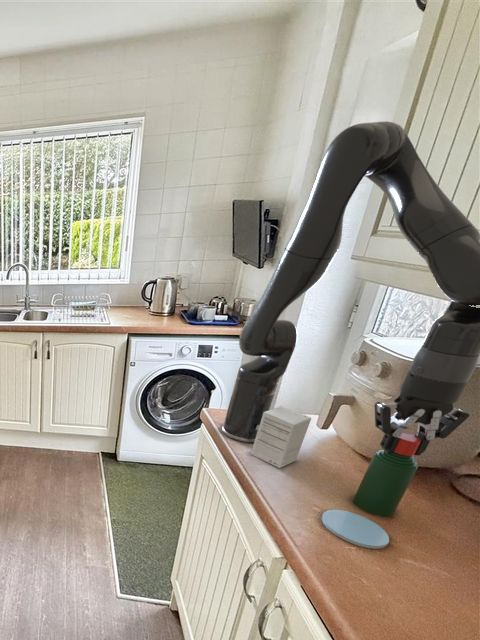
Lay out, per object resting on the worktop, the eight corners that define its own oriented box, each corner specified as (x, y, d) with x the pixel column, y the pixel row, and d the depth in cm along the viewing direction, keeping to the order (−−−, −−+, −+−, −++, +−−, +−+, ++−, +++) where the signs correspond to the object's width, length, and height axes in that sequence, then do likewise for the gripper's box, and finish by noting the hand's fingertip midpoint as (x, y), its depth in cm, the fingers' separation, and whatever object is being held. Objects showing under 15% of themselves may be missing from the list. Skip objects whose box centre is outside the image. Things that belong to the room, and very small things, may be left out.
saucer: (311, 509, 86) (313, 506, 86) (367, 516, 84) (369, 513, 84) (337, 543, 77) (339, 540, 77) (401, 553, 75) (403, 550, 75)
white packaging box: (266, 447, 108) (280, 405, 103) (296, 461, 102) (313, 417, 97) (249, 454, 106) (262, 411, 101) (279, 469, 99) (295, 424, 94)
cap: (382, 444, 83) (388, 430, 82) (405, 446, 82) (412, 433, 81) (395, 454, 80) (402, 440, 78) (419, 457, 79) (426, 443, 78)
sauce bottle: (346, 494, 90) (376, 429, 83) (380, 499, 89) (414, 432, 82) (364, 514, 85) (397, 445, 78) (401, 519, 83) (438, 449, 76)
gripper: (469, 368, 76) (428, 446, 83) (378, 363, 79) (347, 438, 86) (506, 384, 69) (459, 467, 76) (406, 377, 73) (369, 457, 79)
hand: (399, 451), depth 81 cm, fingers closed on cap, 4 cm apart
